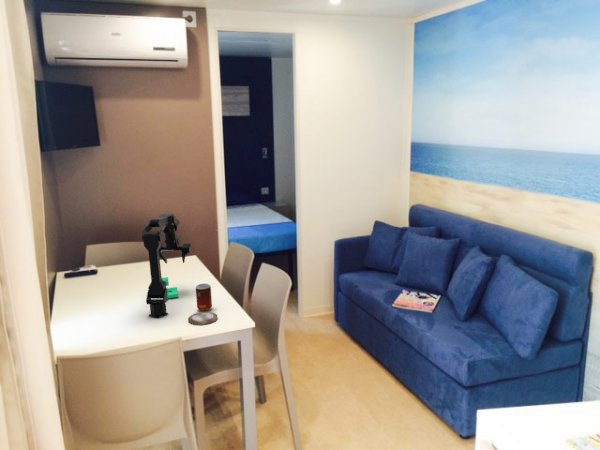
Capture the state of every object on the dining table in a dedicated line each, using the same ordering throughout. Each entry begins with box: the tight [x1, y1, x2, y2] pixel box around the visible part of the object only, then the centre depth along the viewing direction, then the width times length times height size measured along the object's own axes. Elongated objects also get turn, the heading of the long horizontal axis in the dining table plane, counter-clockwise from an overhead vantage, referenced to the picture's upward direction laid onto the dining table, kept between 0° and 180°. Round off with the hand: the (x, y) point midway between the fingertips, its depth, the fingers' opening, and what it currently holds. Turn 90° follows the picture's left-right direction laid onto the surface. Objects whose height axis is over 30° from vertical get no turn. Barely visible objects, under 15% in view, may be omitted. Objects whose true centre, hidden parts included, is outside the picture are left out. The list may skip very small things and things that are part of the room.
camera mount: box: [162, 276, 180, 299], centre depth 261 cm, size 12×8×10 cm, turn 18°
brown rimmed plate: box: [187, 311, 218, 326], centre depth 227 cm, size 13×13×1 cm
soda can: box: [195, 283, 213, 313], centre depth 238 cm, size 7×7×12 cm
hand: (175, 262), depth 264 cm, fingers open, 9 cm apart
